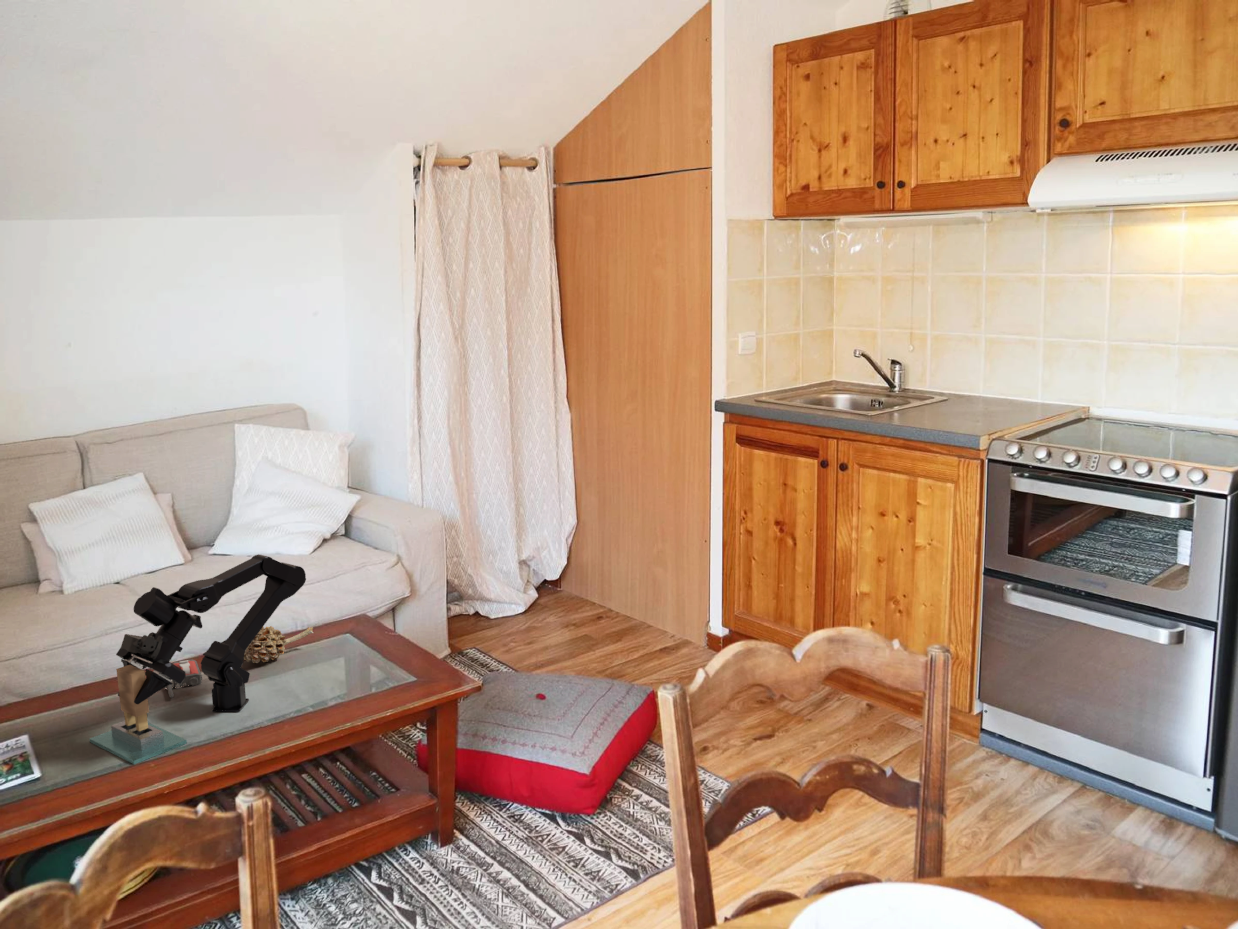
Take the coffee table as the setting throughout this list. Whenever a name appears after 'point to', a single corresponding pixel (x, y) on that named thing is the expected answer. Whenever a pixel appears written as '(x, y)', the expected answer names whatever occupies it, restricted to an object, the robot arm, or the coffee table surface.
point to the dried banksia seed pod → (270, 644)
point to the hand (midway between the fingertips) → (127, 700)
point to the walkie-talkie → (191, 675)
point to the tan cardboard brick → (132, 696)
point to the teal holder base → (137, 741)
